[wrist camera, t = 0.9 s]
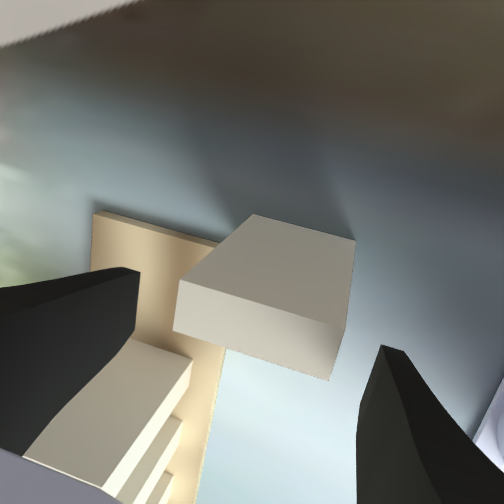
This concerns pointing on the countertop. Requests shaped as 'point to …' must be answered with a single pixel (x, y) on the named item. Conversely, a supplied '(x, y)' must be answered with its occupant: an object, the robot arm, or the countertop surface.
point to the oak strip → (166, 327)
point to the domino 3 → (161, 490)
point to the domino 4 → (271, 295)
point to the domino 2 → (151, 464)
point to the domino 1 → (114, 417)
